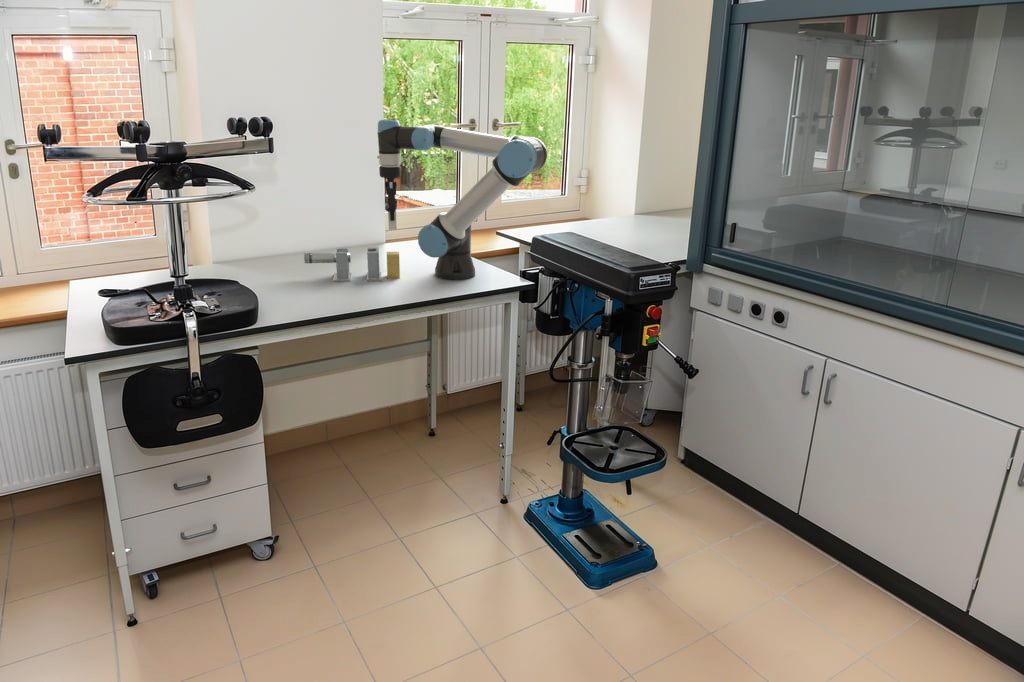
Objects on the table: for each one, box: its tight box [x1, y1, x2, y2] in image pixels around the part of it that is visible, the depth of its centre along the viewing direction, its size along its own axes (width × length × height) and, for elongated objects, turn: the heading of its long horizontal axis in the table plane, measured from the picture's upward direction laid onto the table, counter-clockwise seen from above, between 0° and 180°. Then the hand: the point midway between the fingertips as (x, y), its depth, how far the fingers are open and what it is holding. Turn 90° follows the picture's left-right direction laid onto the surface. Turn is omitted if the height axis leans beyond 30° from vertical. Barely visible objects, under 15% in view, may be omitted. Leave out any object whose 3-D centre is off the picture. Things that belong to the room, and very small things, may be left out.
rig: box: [332, 246, 382, 283], centre depth 268 cm, size 17×10×10 cm, turn 99°
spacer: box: [386, 251, 401, 280], centre depth 270 cm, size 4×4×9 cm
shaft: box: [303, 252, 352, 264], centre depth 266 cm, size 16×4×4 cm, turn 99°
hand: (392, 225), depth 265 cm, fingers open, 13 cm apart
